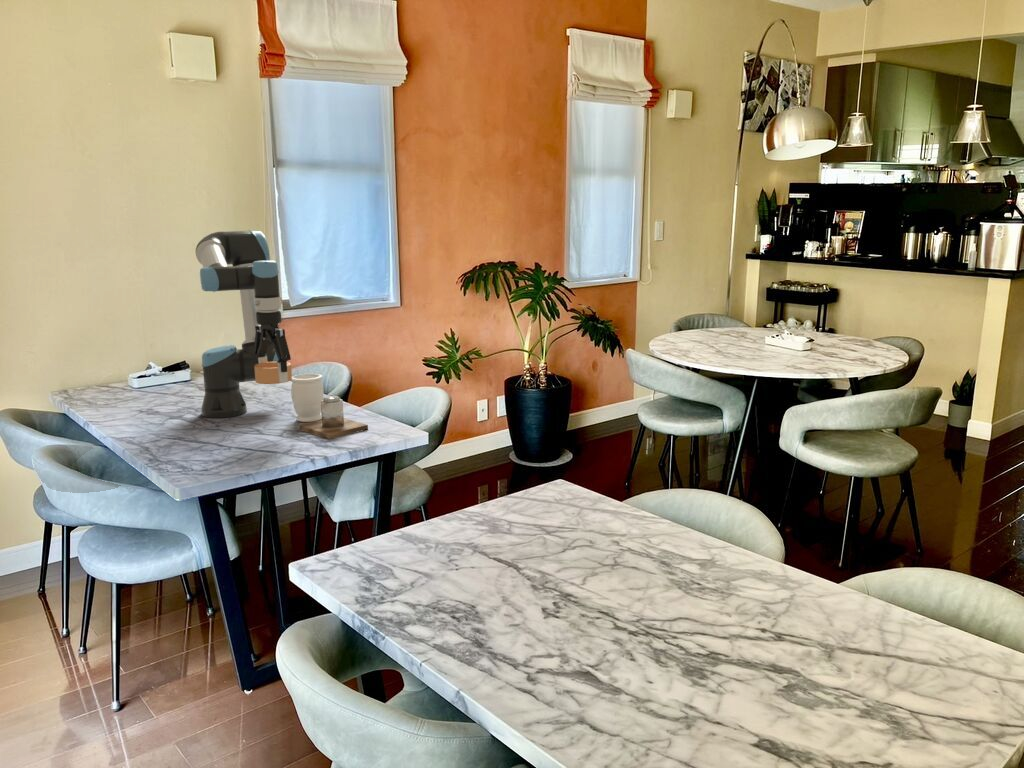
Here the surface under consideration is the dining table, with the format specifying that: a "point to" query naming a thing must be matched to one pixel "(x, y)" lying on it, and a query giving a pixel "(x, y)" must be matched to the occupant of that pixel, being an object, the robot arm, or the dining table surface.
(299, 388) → the jar
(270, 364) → the ring
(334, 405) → the frosted glass cylinder
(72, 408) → the dining table surface
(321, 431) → the wooden board
